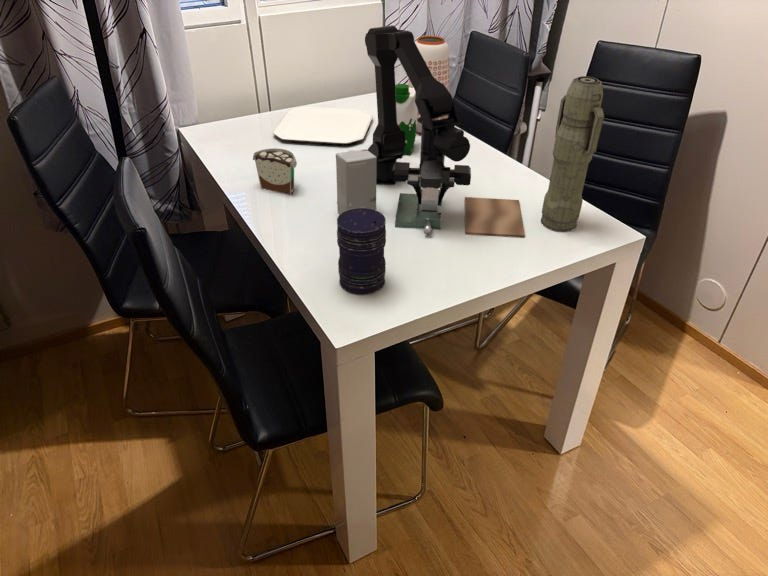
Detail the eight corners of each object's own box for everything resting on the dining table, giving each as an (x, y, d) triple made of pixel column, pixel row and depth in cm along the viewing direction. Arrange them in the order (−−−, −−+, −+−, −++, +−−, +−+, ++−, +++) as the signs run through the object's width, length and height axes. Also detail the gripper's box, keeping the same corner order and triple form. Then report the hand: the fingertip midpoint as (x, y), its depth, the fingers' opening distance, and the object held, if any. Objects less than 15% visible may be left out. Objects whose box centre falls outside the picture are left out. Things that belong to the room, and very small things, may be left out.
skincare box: (347, 223, 149) (345, 163, 140) (335, 211, 154) (333, 152, 145) (378, 216, 152) (378, 156, 143) (365, 204, 157) (365, 146, 148)
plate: (292, 111, 212) (292, 105, 211) (375, 116, 209) (375, 110, 208) (269, 144, 189) (268, 137, 188) (361, 150, 186) (361, 143, 185)
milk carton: (384, 154, 183) (384, 87, 171) (389, 142, 190) (390, 77, 178) (413, 157, 182) (416, 89, 170) (417, 145, 189) (420, 79, 177)
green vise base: (393, 235, 145) (393, 224, 143) (399, 198, 160) (399, 187, 158) (439, 238, 144) (440, 227, 142) (441, 200, 159) (442, 190, 158)
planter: (406, 121, 204) (408, 33, 188) (445, 122, 204) (452, 34, 188) (405, 137, 194) (408, 44, 177) (447, 138, 193) (454, 45, 177)
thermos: (564, 238, 144) (596, 90, 124) (528, 218, 152) (552, 76, 132) (589, 228, 149) (624, 83, 128) (553, 208, 156) (580, 69, 136)
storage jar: (331, 289, 127) (327, 226, 118) (349, 264, 135) (348, 204, 126) (375, 299, 124) (375, 236, 116) (392, 274, 132) (393, 213, 123)
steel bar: (420, 221, 151) (421, 199, 147) (421, 205, 157) (422, 184, 153) (436, 222, 150) (438, 200, 147) (437, 206, 157) (438, 185, 153)
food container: (307, 187, 165) (305, 152, 159) (295, 197, 160) (292, 161, 154) (269, 178, 169) (265, 144, 163) (256, 187, 164) (252, 152, 159)
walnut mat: (465, 234, 146) (465, 232, 145) (464, 199, 160) (464, 197, 160) (524, 237, 145) (525, 235, 144) (518, 202, 159) (518, 199, 159)
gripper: (390, 157, 137) (389, 218, 146) (473, 161, 136) (467, 223, 145) (394, 138, 146) (393, 197, 155) (472, 142, 145) (467, 201, 154)
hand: (429, 204), depth 152 cm, fingers closed on steel bar, 4 cm apart
